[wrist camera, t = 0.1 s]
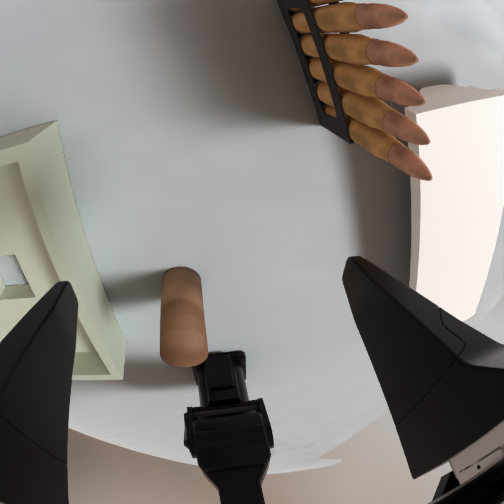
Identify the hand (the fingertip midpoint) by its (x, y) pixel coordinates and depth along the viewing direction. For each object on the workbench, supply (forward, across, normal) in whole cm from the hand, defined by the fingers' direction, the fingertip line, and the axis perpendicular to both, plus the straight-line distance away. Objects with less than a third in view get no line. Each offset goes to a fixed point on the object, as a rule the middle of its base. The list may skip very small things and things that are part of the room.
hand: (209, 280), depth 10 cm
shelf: (+15, -24, +8) cm, 30 cm away
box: (+15, +19, +9) cm, 26 cm away
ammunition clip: (+15, -8, -6) cm, 18 cm away
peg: (+15, +2, +13) cm, 20 cm away
